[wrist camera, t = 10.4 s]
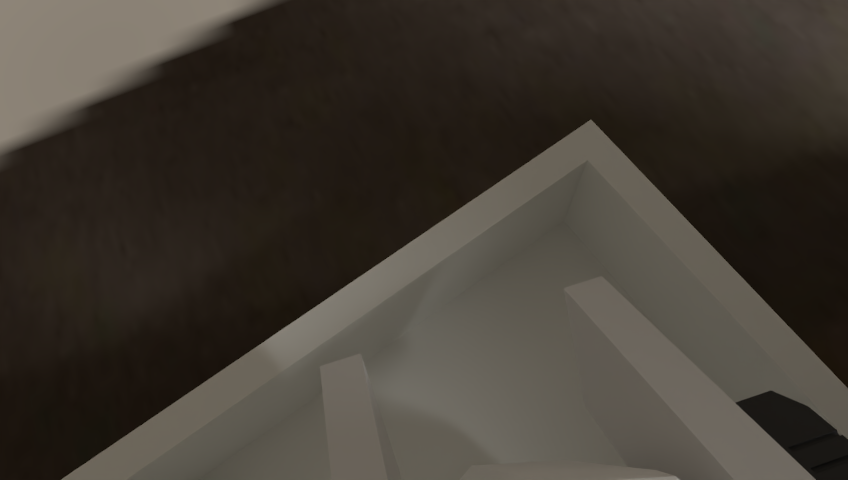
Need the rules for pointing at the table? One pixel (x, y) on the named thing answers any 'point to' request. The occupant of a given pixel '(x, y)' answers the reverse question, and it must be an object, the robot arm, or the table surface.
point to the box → (485, 338)
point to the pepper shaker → (561, 472)
